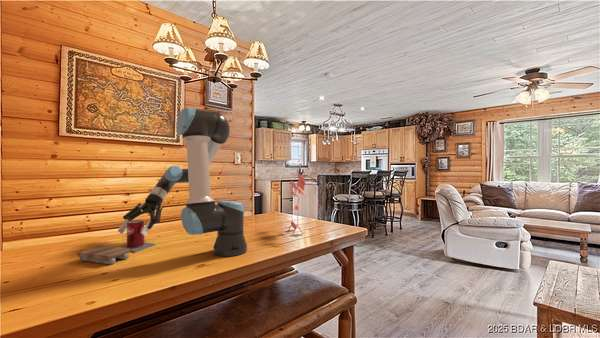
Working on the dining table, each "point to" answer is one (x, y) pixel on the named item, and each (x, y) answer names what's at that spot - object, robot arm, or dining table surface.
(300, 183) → the figurine
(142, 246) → the mat
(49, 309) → the dining table surface
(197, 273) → the dining table surface
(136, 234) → the soda can
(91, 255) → the slab on rollers
